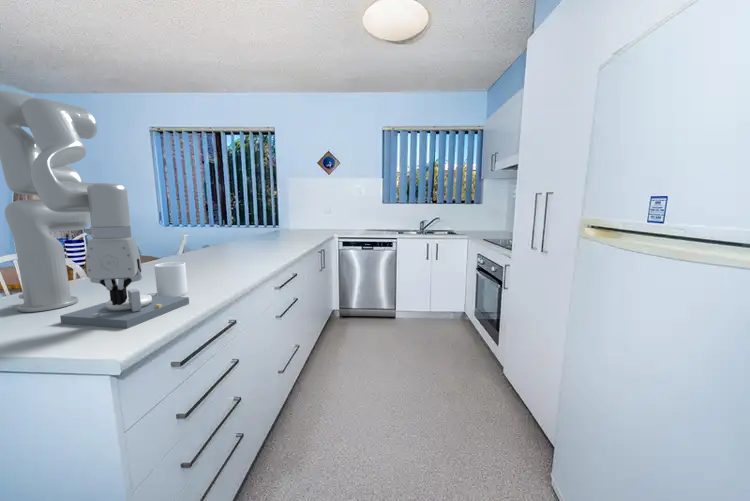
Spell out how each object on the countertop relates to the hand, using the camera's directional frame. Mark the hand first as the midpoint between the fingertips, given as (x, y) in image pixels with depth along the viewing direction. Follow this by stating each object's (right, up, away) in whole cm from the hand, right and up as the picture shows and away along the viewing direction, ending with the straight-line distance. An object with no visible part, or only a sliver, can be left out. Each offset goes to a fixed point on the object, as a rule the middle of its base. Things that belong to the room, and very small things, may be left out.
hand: (119, 303), depth 80 cm
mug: (-3, -1, +25) cm, 25 cm away
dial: (-1, -2, +5) cm, 6 cm away
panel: (-2, -4, +7) cm, 8 cm away
